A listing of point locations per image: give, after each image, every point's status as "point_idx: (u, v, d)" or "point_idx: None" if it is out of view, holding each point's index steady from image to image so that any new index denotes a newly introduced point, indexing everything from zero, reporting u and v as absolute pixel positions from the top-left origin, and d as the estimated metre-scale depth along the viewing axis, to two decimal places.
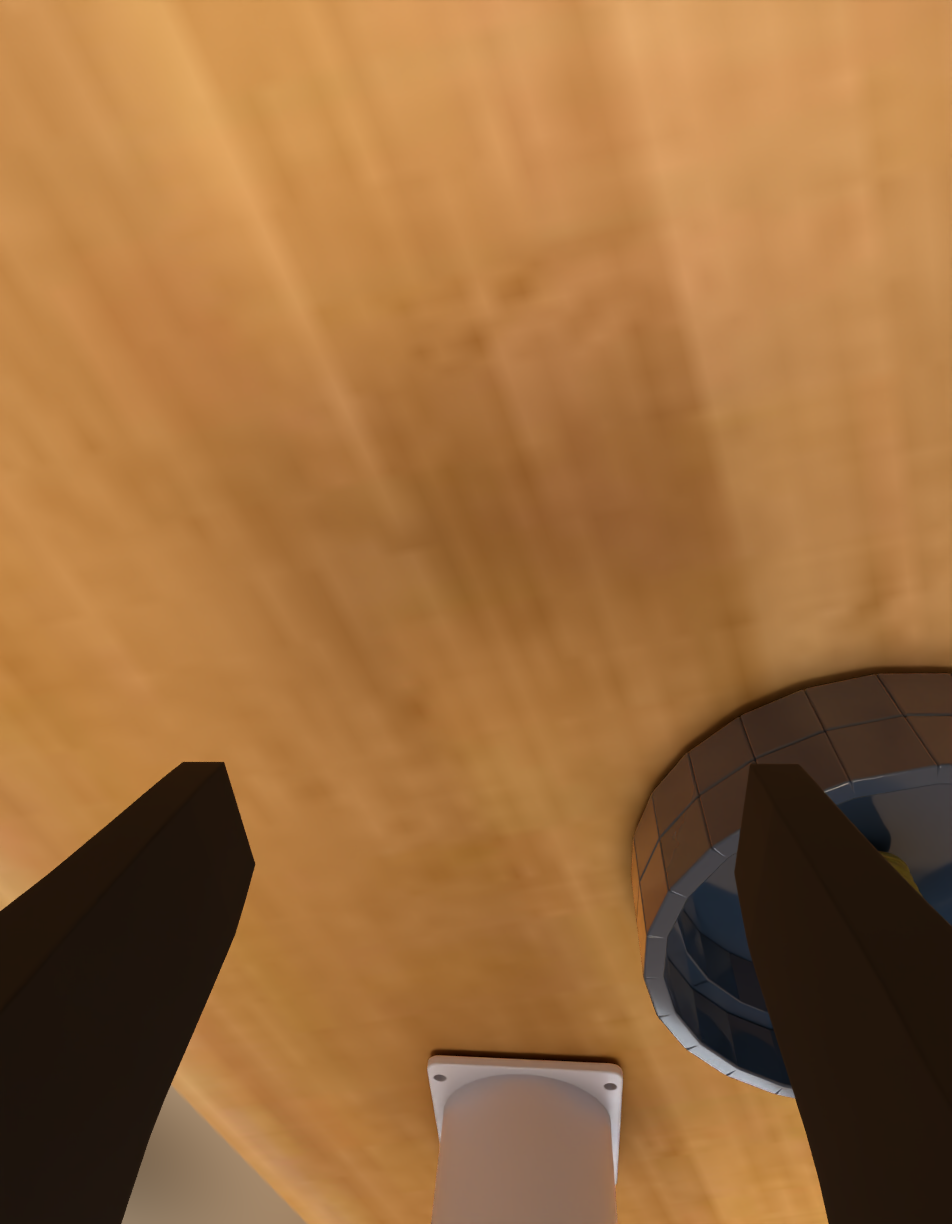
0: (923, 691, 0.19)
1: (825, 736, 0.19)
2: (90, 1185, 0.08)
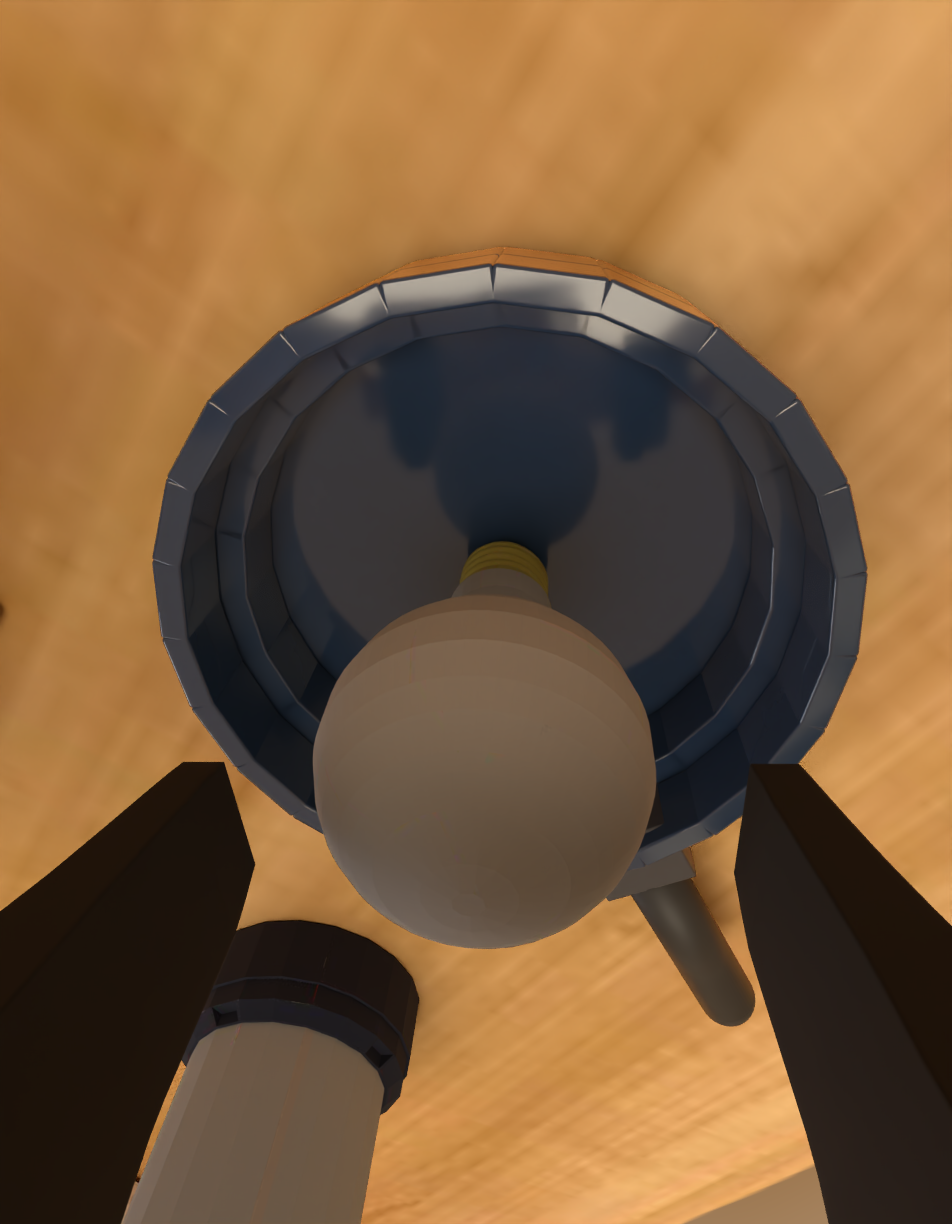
0: None
1: (695, 309, 0.13)
2: (90, 1185, 0.08)
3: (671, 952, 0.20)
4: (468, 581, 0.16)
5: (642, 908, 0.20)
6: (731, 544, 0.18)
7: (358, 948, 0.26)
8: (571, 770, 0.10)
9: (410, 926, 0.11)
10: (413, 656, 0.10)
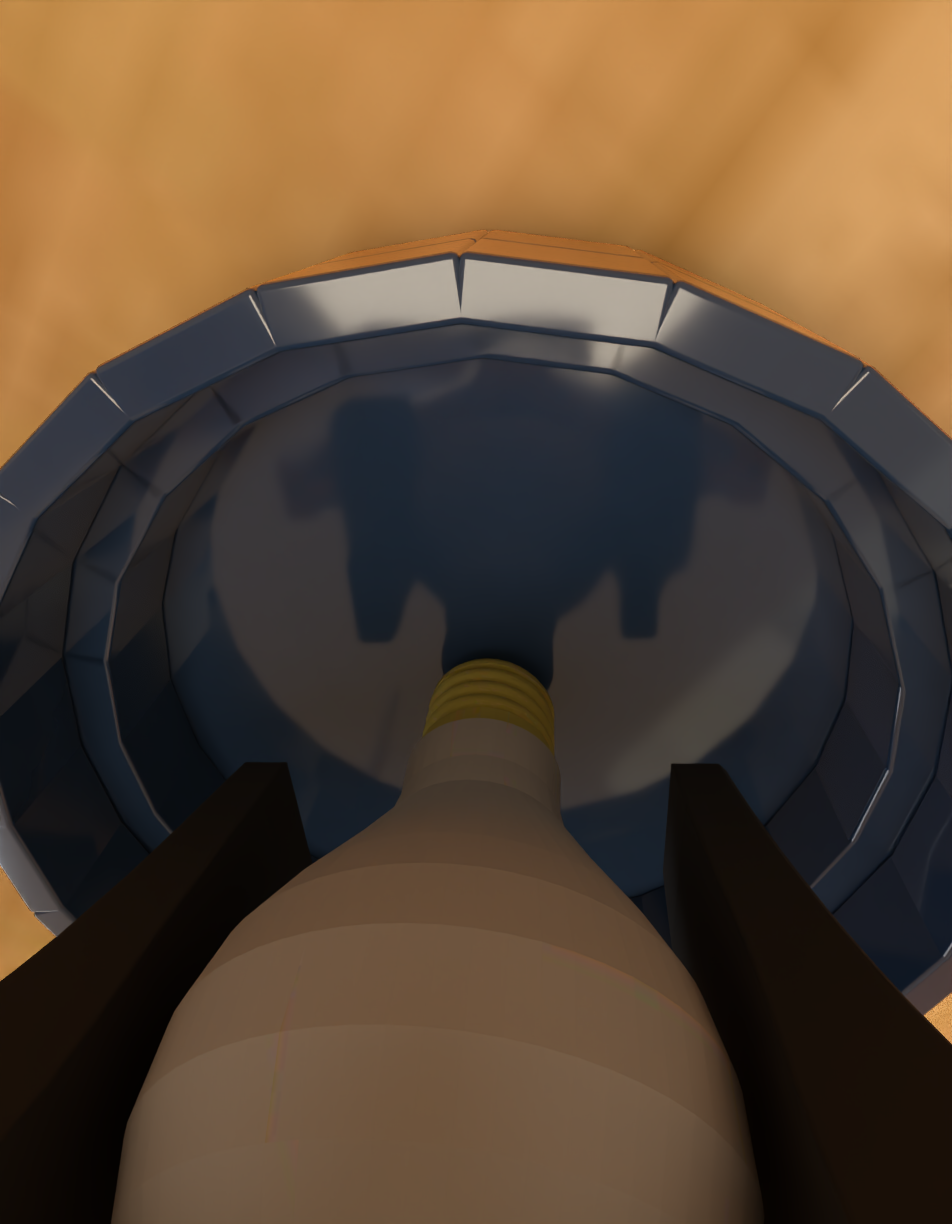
0: None
1: (806, 330, 0.08)
2: None
3: None
4: (434, 738, 0.10)
5: None
6: (820, 661, 0.12)
7: None
8: None
9: None
10: (282, 1056, 0.05)
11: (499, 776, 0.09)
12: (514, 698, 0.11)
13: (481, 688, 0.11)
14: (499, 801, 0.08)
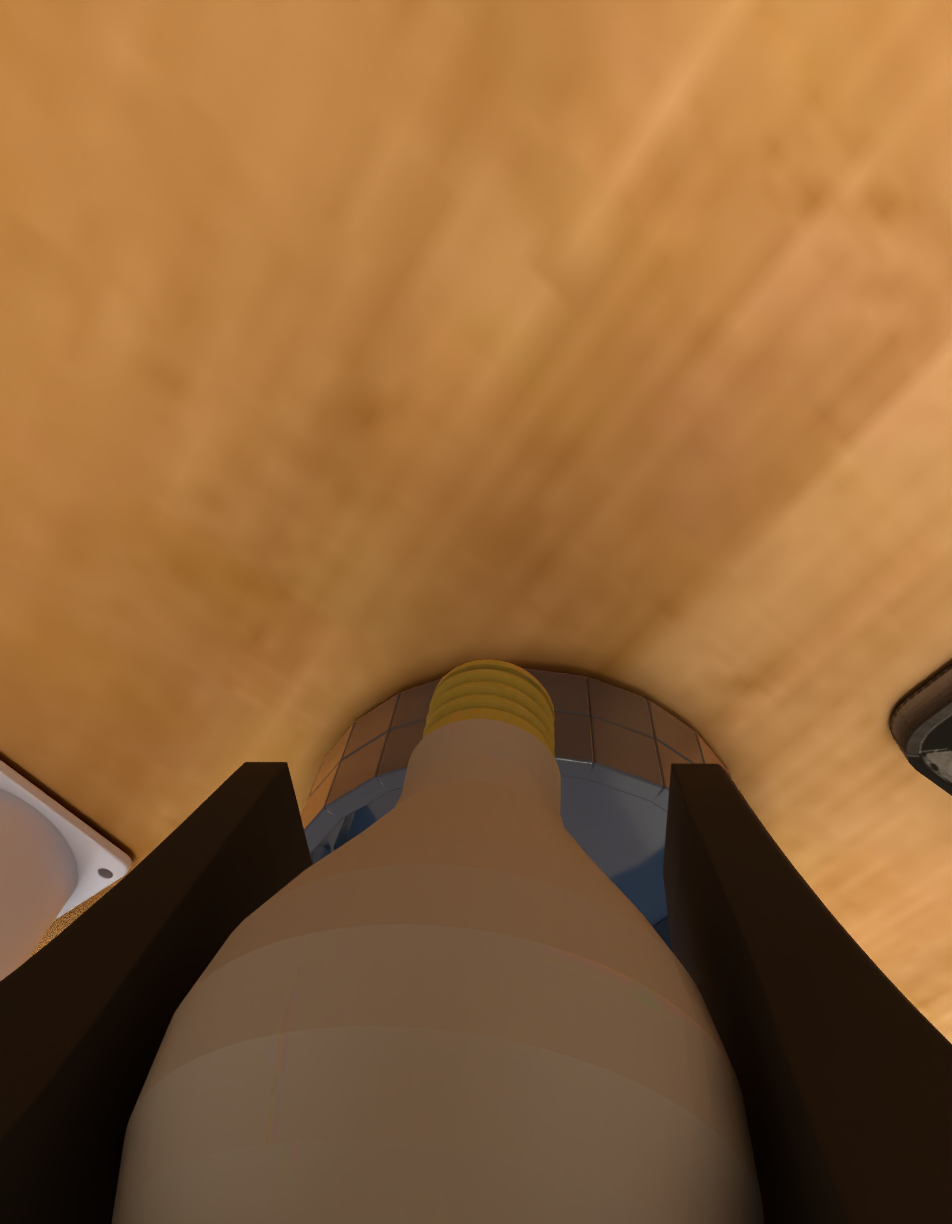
0: None
1: (654, 743, 0.20)
2: None
3: None
4: (434, 739, 0.10)
5: None
6: None
7: None
8: None
9: None
10: (283, 1057, 0.05)
11: (499, 777, 0.09)
12: (514, 699, 0.11)
13: (481, 689, 0.11)
14: (499, 802, 0.08)
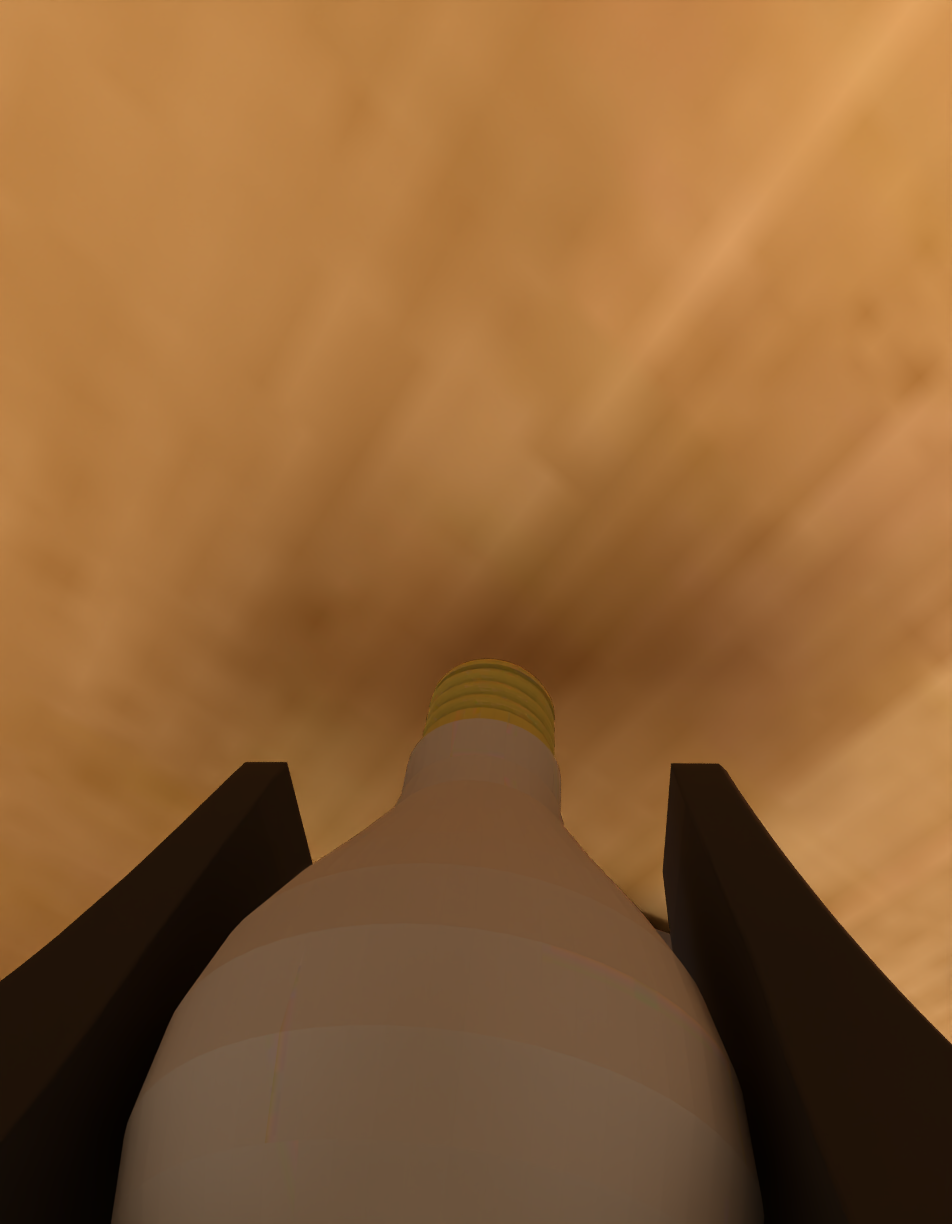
0: None
1: None
2: None
3: None
4: (434, 738, 0.10)
5: None
6: None
7: None
8: None
9: None
10: (283, 1057, 0.05)
11: (499, 776, 0.09)
12: (514, 698, 0.11)
13: (481, 688, 0.11)
14: (499, 801, 0.08)
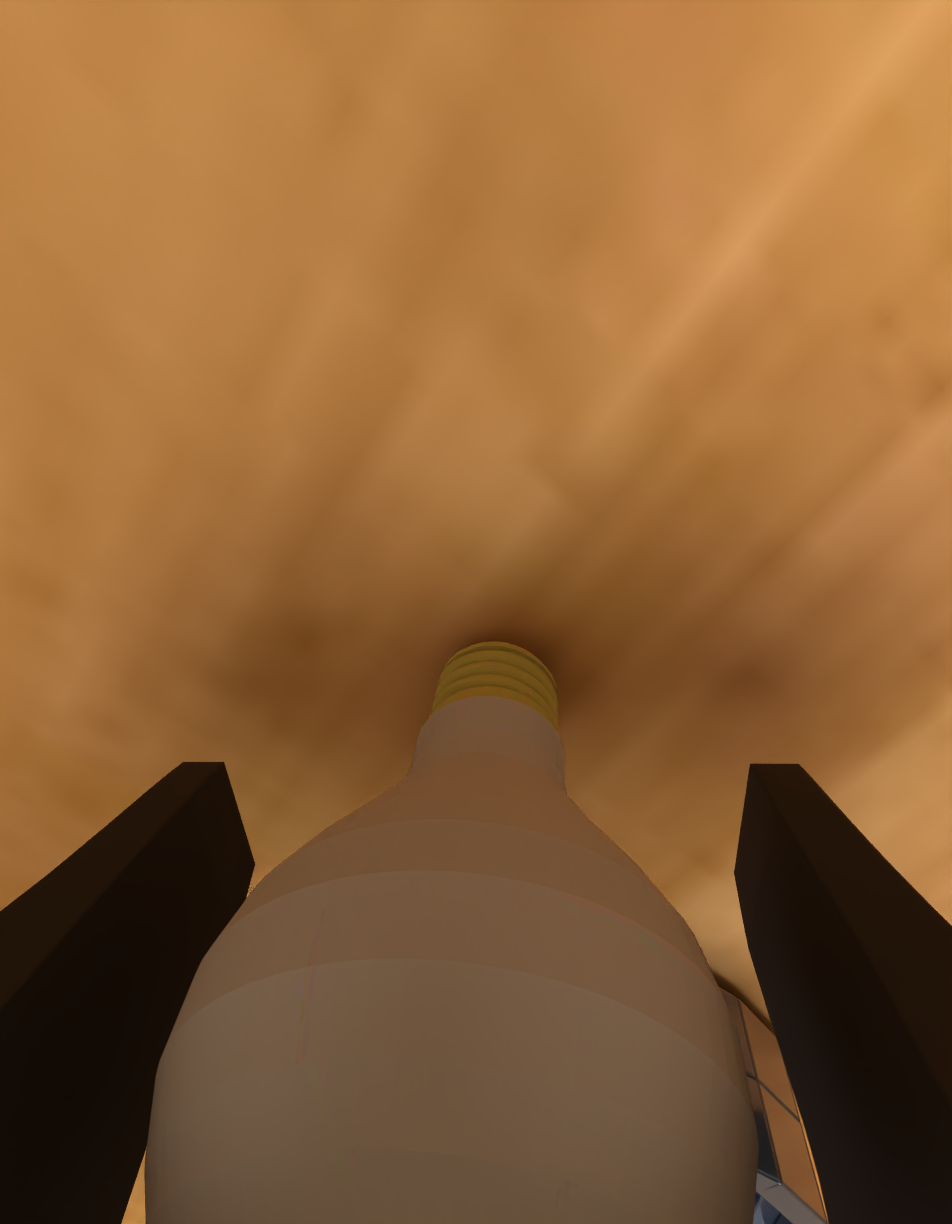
0: (766, 1052, 0.17)
1: None
2: (90, 1186, 0.08)
3: None
4: (442, 715, 0.11)
5: None
6: None
7: None
8: None
9: None
10: (308, 987, 0.05)
11: (506, 749, 0.10)
12: (519, 678, 0.12)
13: (487, 669, 0.12)
14: (507, 770, 0.09)
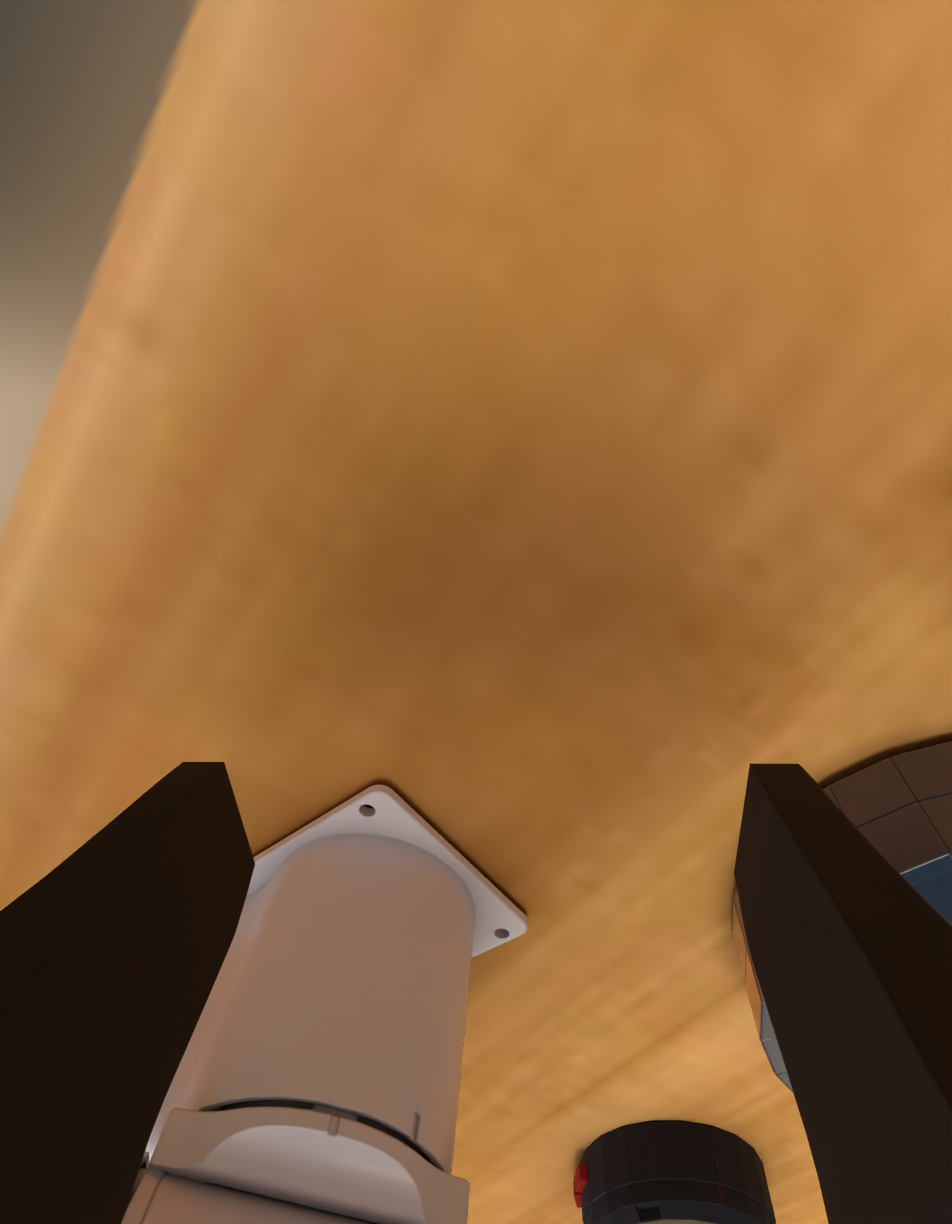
0: None
1: None
2: (90, 1185, 0.08)
3: None
4: None
5: None
6: None
7: (732, 1145, 0.32)
8: None
9: None
10: None
11: None
12: None
13: None
14: None
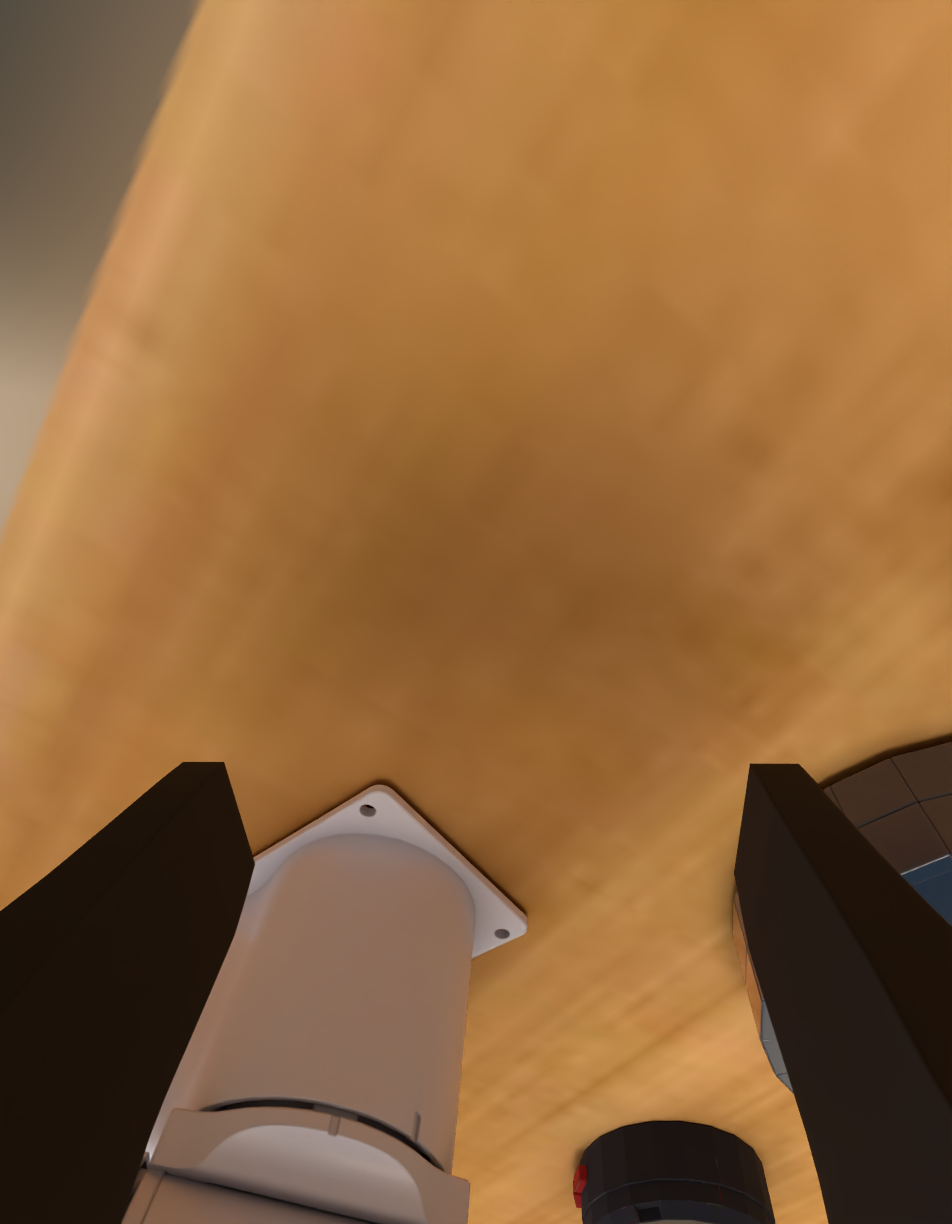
0: None
1: None
2: (90, 1185, 0.08)
3: None
4: None
5: None
6: None
7: (732, 1146, 0.32)
8: None
9: None
10: None
11: None
12: None
13: None
14: None
